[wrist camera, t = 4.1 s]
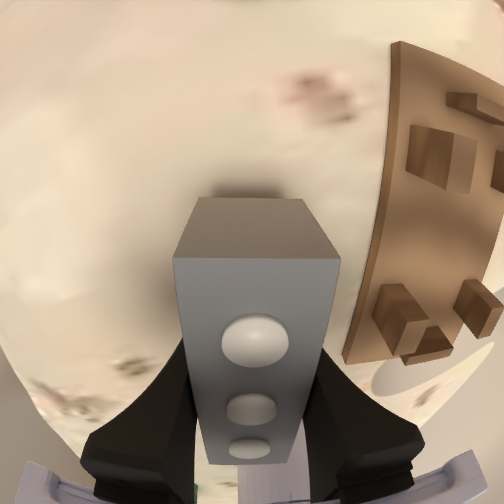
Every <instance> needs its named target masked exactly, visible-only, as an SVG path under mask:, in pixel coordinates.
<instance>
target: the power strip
mask: <svg viewBox="0 0 504 504" xmlns="http://www.w3.org/2000/svg"><path fill="white" fill-rule="evenodd" d="M340 263H341V258H340V256H339V255H338V253H337V251H336V250H335V248H334V247H333V245H332V244H331V242H330V240H329V239H328V237H327V236H326V234H325V233H324V231H323V230H322V228H321V227H320V225H319V224H318V222H317V221H316V219H315V218H314V216H313V215H312V213H311V212H310V210H309V209H308V207H307V206H306V204H305V203H304V201H303V200H302V199H282V198H221V197H209V198H199V199H198V201H197V203H196V205H195V207H194V210H193V212H192V214H191V216H190V218H189V221H188V223H187V225H186V227H185V230H184V232H183V234H182V236H181V239H180V241H179V243H178V246H177V248H176V250H175V253H174V255H173V267H174V276H175V284H176V293H177V300H178V308H179V315H180V322H181V328H182V335H183V341H184V347H185V353H186V359H187V365H188V370H189V376H190V381H191V386H192V391H193V396H194V401H195V406H196V411H197V415H198V420H199V424H200V429H201V433H202V437H203V442H204V446H205V450H206V454H207V458H208V462H209V464H216V465H261V464H280V463H287V461H288V459H289V456H290V453H291V450H292V447H293V444H294V441H295V438H296V435H297V432H298V429H299V426H300V423H301V420H302V417H303V414H304V410H305V407H306V404H307V401H308V397H309V394H310V390H311V387H312V383H313V380H314V376H315V373H316V369H317V365H318V361H319V358H320V354H321V350H322V346H323V342H324V338H325V334H326V329H327V325H328V321H329V316H330V312H331V307H332V303H333V298H334V293H335V288H336V283H337V278H338V273H339V268H340Z"/></svg>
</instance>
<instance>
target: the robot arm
mask: <svg viewBox="0 0 504 504" xmlns="http://www.w3.org/2000/svg"><path fill="white" fill-rule="evenodd" d="M197 418H198V415H197V411H196V406H195V401H194V396H193V391H192V386H191V381H190V376H189V370H188V365H187V359H186V353H185V347H184V341H183V337H182V339H181V341H180V343H179V344H178V346H177V348H176V349H175V351H174V353H173V354H172V356H171V357H170V359H169V360H168V362H167V363H166V365H165V366H164V368H163V369H162V370H161V372H160V373H159V374H158V375H157V377H156V378H155V379H154V381H153V382H152V383H151V384H150V385H149V386H148V388H147V389H146V390H145V391H144V392H143V393H142V394H141V395H140V396H139V397H138V398H137V399H136V400H135V401H134V402H133V403H132V404H131V405H130V406H128V407H127V408H126V409H125V410H124V411H122V412H121V413H120V414H119V415H117V416H116V417H115V418H114V419H112V420H111V421H109V422H108V423H107V424H105V425H103V426H102V427H100V428H99V429H97V430H96V431H94V432H92V433H91V434H90V435H89V437H88V439H87V441H86V443H85V446H84V449H83V452H82V456H81V459H80V464H81V465H82V467H83V468H84V469H85V470H86V471H87V472H88V473H90V474H91V475H92V476H93V477H94V478H95V479H96V483H95V487H94V489H93V488H90V487H87V486H84V485H80V484H77V483H74V482H71V481H68V480H66V479H63V478H60V477H59V476H58V475H57V474H56V473H55V472H53V471H52V470H50V469H48V468H46V467H43V466H41V465H39V464H36V463H34V462H32V461H29V460H28V461H27V463H26V466H25V469H24V472H23V475H22V478H21V481H20V484H19V488H18V491H17V495H16V498H15V501H14V503H15V504H195V500H194V458H195V433H196V424H197ZM424 446H425V442H424V440H423V437H422V435H421V432H420V431H419V429H418V427H417V425H415V424H413V423H411V422H409V421H407V420H405V419H403V418H401V417H399V416H397V415H395V414H394V413H392V412H390V411H389V410H387V409H385V408H384V407H383V406H381V405H380V404H378V403H377V402H376V401H374V400H373V399H371V398H370V397H369V396H368V395H366V394H365V393H364V392H363V391H362V390H360V389H359V388H358V387H357V386H356V385H355V384H354V383H353V382H352V381H351V380H350V379H349V378H348V377H347V376H346V375H345V374H344V373H343V372H342V371H341V370H340V368H339V367H338V366H337V365H336V364H335V363H334V361H333V360H332V359H331V358H330V356H329V355H328V354H327V353H326V351H325V350H324V349H323V347H322V350H321V354H320V358H319V361H318V365H317V369H316V373H315V376H314V380H313V383H312V387H311V390H310V394H309V397H308V401H307V404H306V407H305V410H304V414H303V417H302V420H301V423H300V426H299V429H298V432H297V435H296V438H295V441H294V444H293V447H292V450H291V453H290V456H289V459H288V461H287V463H280V464H261V465H238V504H466V503H467V502H469V501H471V500H472V499H474V498H476V497H477V496H479V495H480V494H482V493H483V492H485V491H486V490H488V485H487V482H486V480H485V477H484V475H483V473H482V470H481V468H480V466H479V464H478V461H477V459H476V457H475V454H474V452H473V450H469V451H467V452H465V453H462V454H460V455H458V456H456V457H454V458H453V459H451V460H449V461H448V462H447V463H446V464H445V465H444V466H443V467H441V468H439V469H436V470H434V471H432V472H429V473H426V474H424V475H421V476H418V477H416V478H413V477H412V474H411V471H410V470H412V469H413V466H412V463H411V461H412V460H413V459H414V458H415V457H416V456H417V455H418V454H419V453H420V452H421V451H422V449H423V448H424Z"/></svg>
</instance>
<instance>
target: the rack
mask: <svg viewBox="0 0 504 504" xmlns="http://www.w3.org/2000/svg"><path fill="white" fill-rule="evenodd" d="M503 213H504V87H503V86H502V85H500V84H498V83H497V82H495V81H493V80H491V79H489V78H488V77H486V76H484V75H482V74H480V73H478V72H476V71H474V70H472V69H470V68H468V67H466V66H464V65H462V64H459V63H457V62H455V61H453V60H450V59H448V58H446V57H443V56H441V55H438V54H436V53H433V52H431V51H428V50H426V49H423V48H420V47H417V46H415V45H412V44H409V43H406V42H403V41H398V42H395V43H392V44H391V92H390V110H389V123H388V135H387V145H386V154H385V163H384V171H383V178H382V185H381V192H380V198H379V204H378V210H377V216H376V222H375V227H374V232H373V237H372V242H371V247H370V252H369V256H368V261H367V265H366V270H365V274H364V278H363V282H362V286H361V290H360V294H359V298H358V302H357V306H356V309H355V313H354V317H353V320H352V324H351V327H350V331H349V334H348V337H347V341H346V344H345V347H344V350H343V353H342V356H343V359H344V362H345V364H346V365H348V364H357V363H365V362H373V361H380V360H387V359H393V358H399V357H401V359H402V361H403V363H404V365H405V366H407V365H412V364H417V363H422V362H427V361H431V360H436V359H440V358H444V357H448V356H450V354H451V352H452V351H453V348H454V347H453V346H452V345H453V343H454V341H455V339H456V337H457V335H458V333H459V331H460V329H461V327H462V325H463V323H465V324H466V325H467V327H468V328H469V329H470V330H471V332H472V333H473V334H474V336H475V337H476V338H477V339H480V338H483V337H487V336H490V335H491V333H492V331H493V329H494V327H495V326H496V324H497V322H498V320H499V318H500V315H501V314H502V312H503V309H504V305H503V304H501V302H500V301H499V300H498V299H497V298H496V297H495V296H494V295H493V294H492V293H491V292H490V291H489V290H488V289H487V288H486V287H485V286H484V285H483V284H482V283H481V282H482V280H483V277H484V274H485V272H486V269H487V266H488V263H489V260H490V257H491V254H492V251H493V248H494V245H495V242H496V239H497V235H498V232H499V228H500V225H501V221H502V217H503Z"/></svg>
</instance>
